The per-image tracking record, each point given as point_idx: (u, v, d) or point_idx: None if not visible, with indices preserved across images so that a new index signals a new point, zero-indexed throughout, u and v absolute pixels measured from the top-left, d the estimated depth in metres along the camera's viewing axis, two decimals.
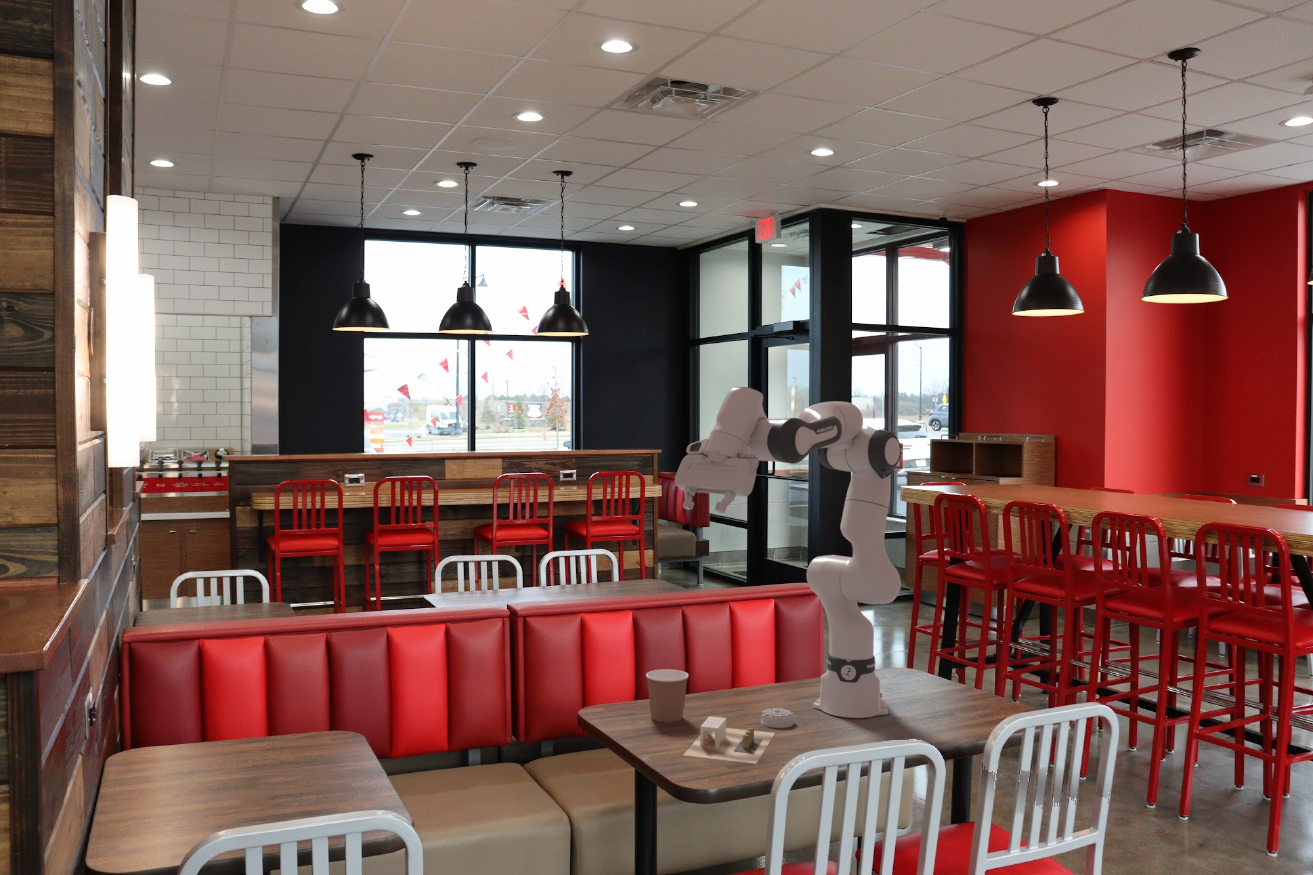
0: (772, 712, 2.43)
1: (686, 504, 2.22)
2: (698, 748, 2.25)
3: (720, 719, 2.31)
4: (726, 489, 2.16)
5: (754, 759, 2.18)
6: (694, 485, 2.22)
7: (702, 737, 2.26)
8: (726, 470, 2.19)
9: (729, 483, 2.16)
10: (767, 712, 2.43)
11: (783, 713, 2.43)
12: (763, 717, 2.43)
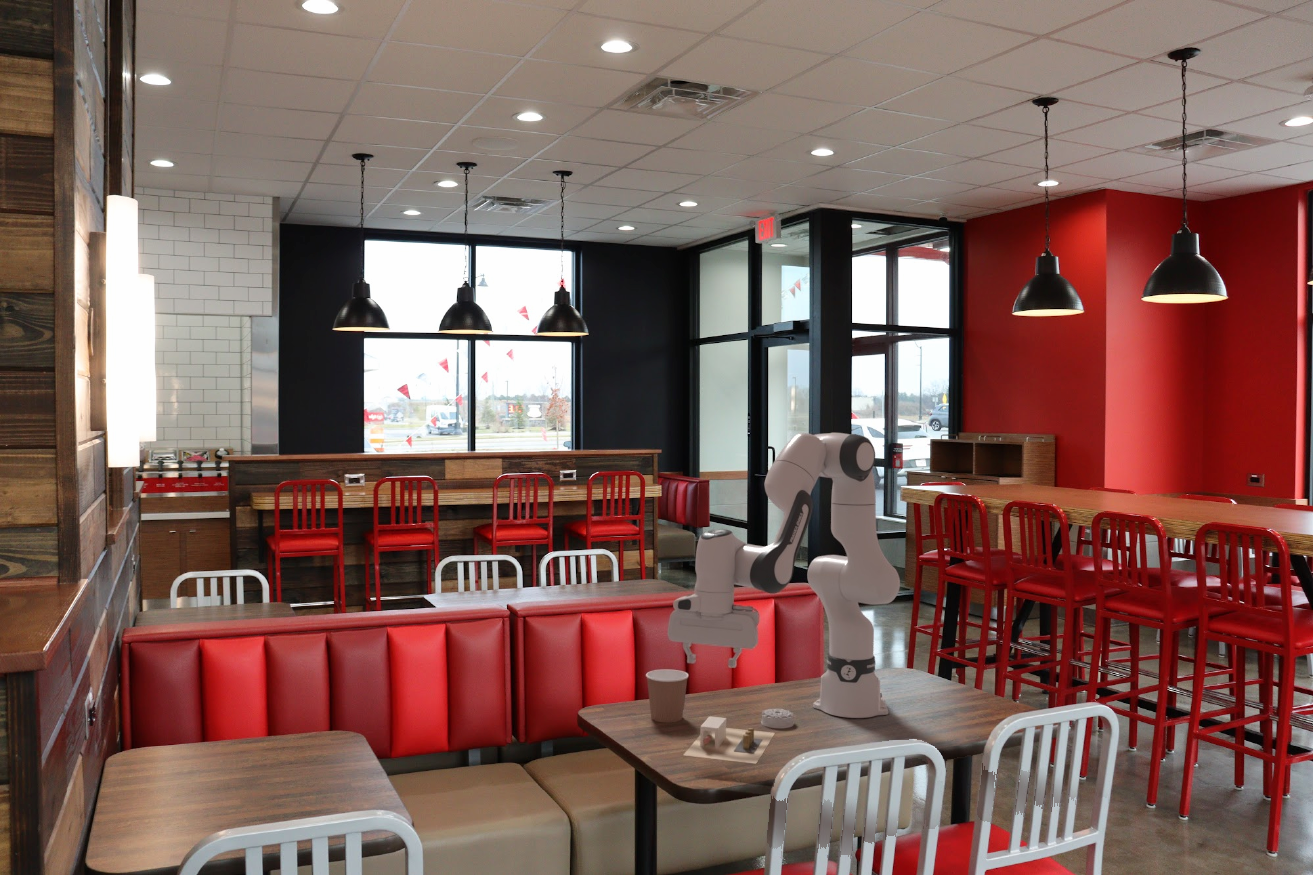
0: (772, 713, 2.43)
1: (691, 661, 2.28)
2: (698, 748, 2.25)
3: (720, 719, 2.31)
4: (735, 647, 2.25)
5: (754, 759, 2.18)
6: (695, 642, 2.27)
7: (702, 737, 2.26)
8: (728, 627, 2.25)
9: (738, 642, 2.24)
10: (767, 713, 2.43)
11: (783, 714, 2.42)
12: (763, 718, 2.42)
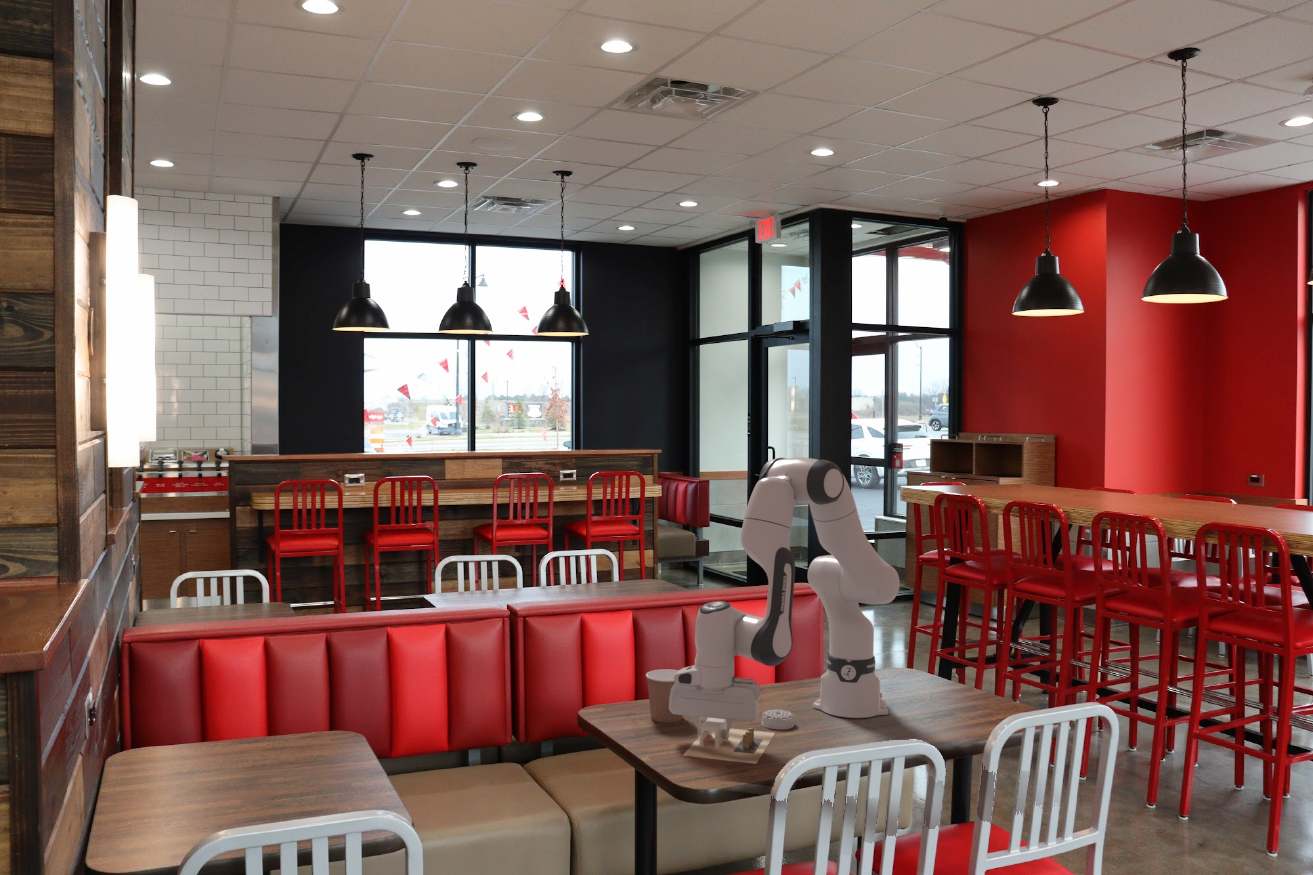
0: (773, 713, 2.42)
1: None
2: (698, 748, 2.25)
3: (720, 719, 2.31)
4: (737, 720, 2.26)
5: (754, 759, 2.18)
6: (697, 715, 2.28)
7: (702, 737, 2.26)
8: (729, 700, 2.26)
9: (739, 715, 2.25)
10: (768, 713, 2.42)
11: (784, 714, 2.42)
12: (764, 718, 2.41)
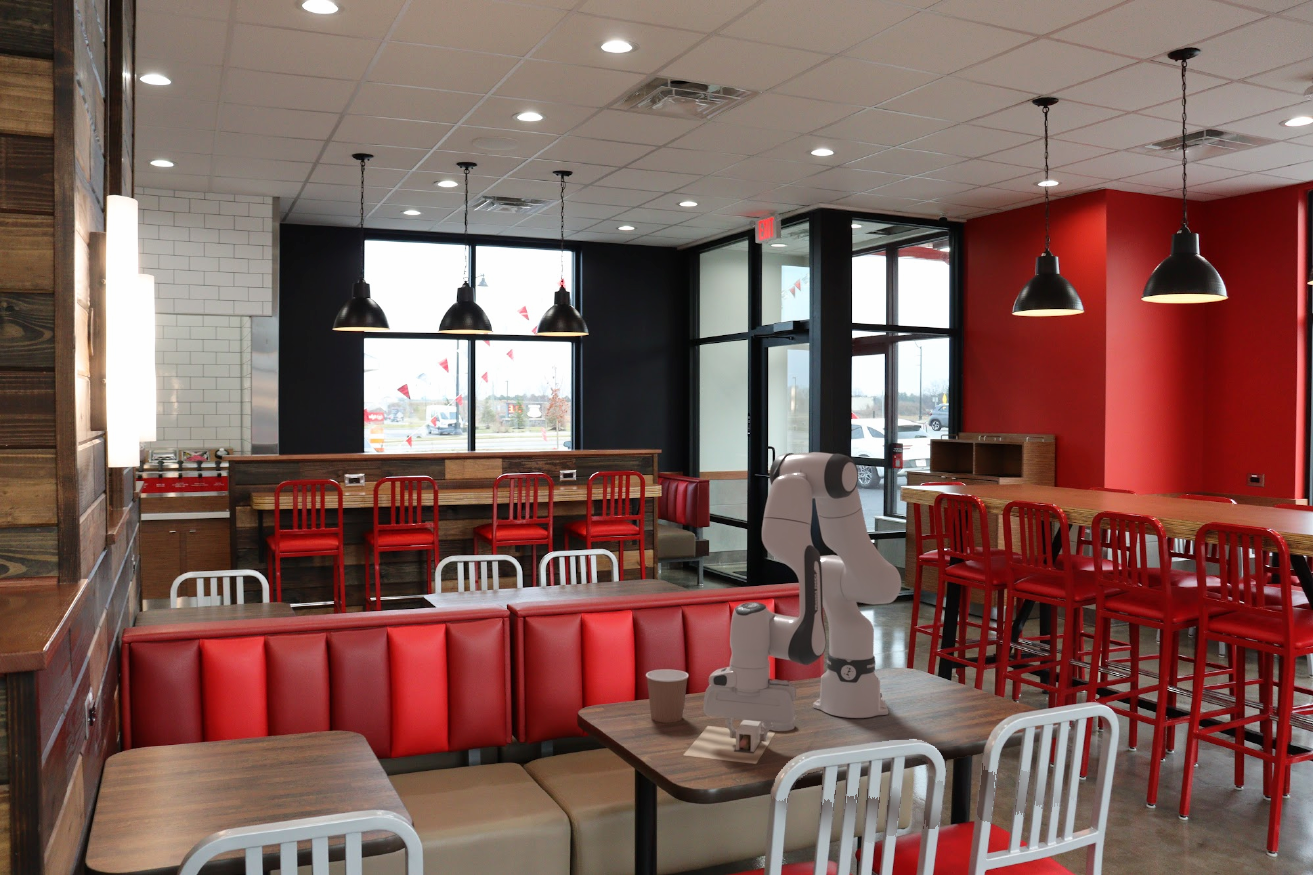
0: None
1: (734, 736, 2.27)
2: (698, 748, 2.25)
3: (755, 722, 2.29)
4: (773, 722, 2.24)
5: (754, 759, 2.18)
6: (732, 717, 2.26)
7: (738, 740, 2.23)
8: (765, 702, 2.24)
9: (775, 717, 2.23)
10: None
11: None
12: None
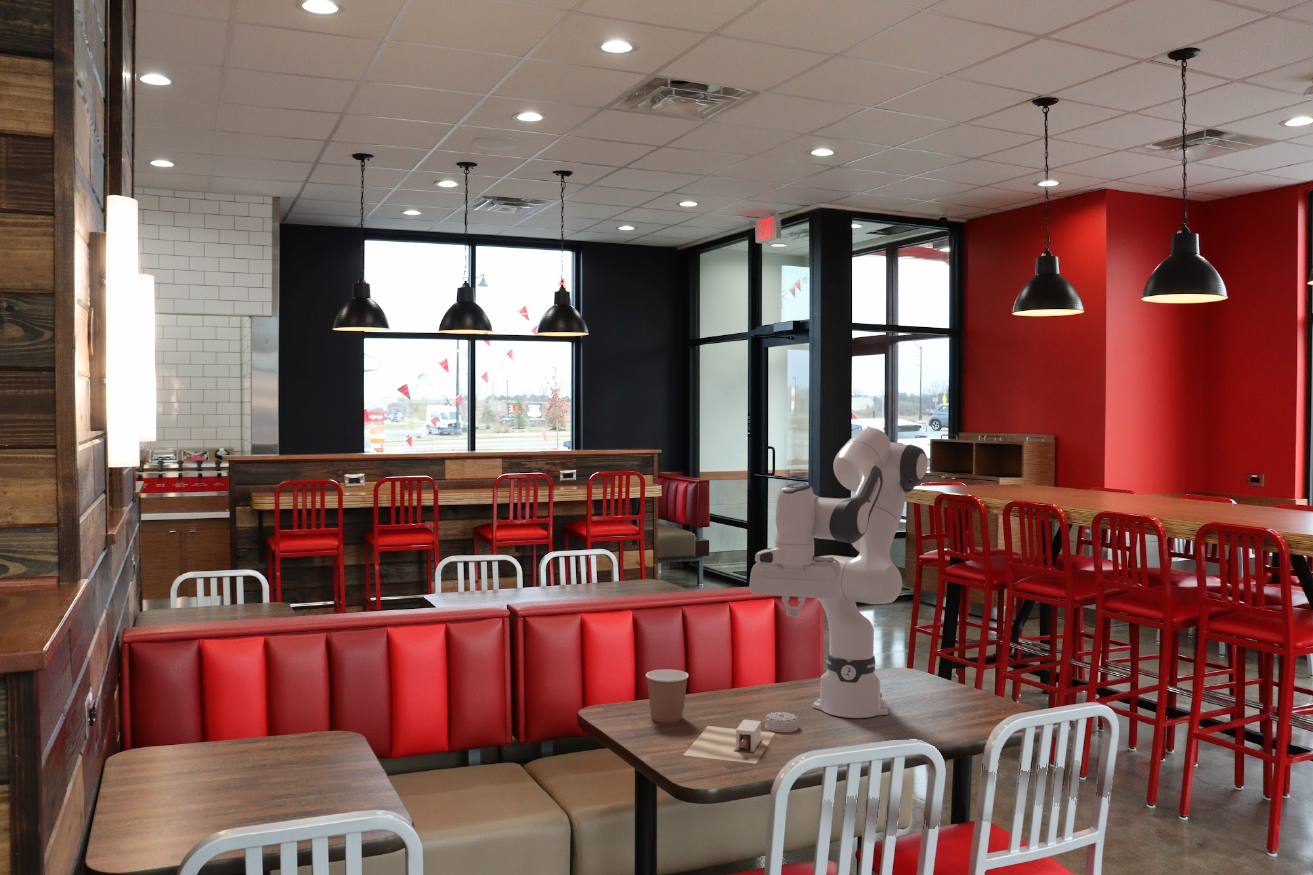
0: (776, 716, 2.40)
1: (790, 613, 2.33)
2: (698, 748, 2.25)
3: (755, 722, 2.29)
4: (818, 597, 2.30)
5: (754, 759, 2.18)
6: (777, 594, 2.33)
7: (738, 740, 2.23)
8: (810, 578, 2.31)
9: (820, 592, 2.30)
10: (771, 716, 2.40)
11: (787, 717, 2.39)
12: (767, 721, 2.39)
